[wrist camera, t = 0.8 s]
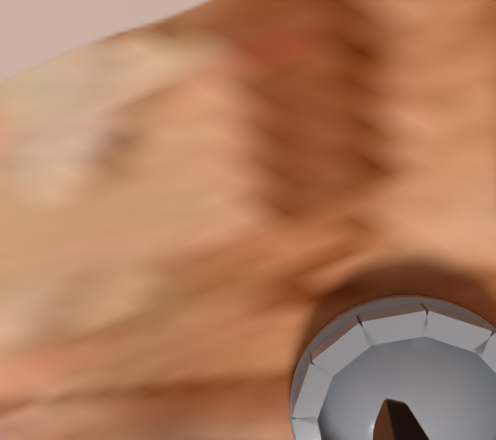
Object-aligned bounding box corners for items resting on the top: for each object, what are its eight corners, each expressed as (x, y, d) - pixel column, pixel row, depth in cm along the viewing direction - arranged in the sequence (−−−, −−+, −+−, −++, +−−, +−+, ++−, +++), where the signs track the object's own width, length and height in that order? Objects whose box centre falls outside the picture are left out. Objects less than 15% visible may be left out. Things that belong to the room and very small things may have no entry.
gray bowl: (548, 497, 23) (571, 529, 21) (316, 523, 24) (317, 555, 22) (509, 273, 21) (530, 285, 19) (267, 318, 23) (264, 332, 21)
